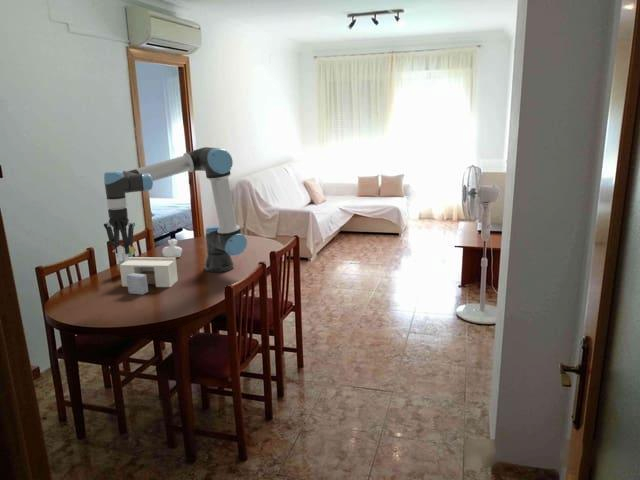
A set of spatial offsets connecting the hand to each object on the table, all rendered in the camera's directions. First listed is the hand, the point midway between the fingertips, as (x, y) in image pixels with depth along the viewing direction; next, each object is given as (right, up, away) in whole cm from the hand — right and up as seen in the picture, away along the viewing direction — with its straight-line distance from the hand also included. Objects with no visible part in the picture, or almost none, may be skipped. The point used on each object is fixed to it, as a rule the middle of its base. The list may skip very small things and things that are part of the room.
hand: (123, 260), depth 219 cm
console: (+3, -12, +27) cm, 29 cm away
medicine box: (+1, -16, +14) cm, 21 cm away
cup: (-15, -9, +41) cm, 45 cm away
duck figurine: (0, -1, +73) cm, 73 cm away
